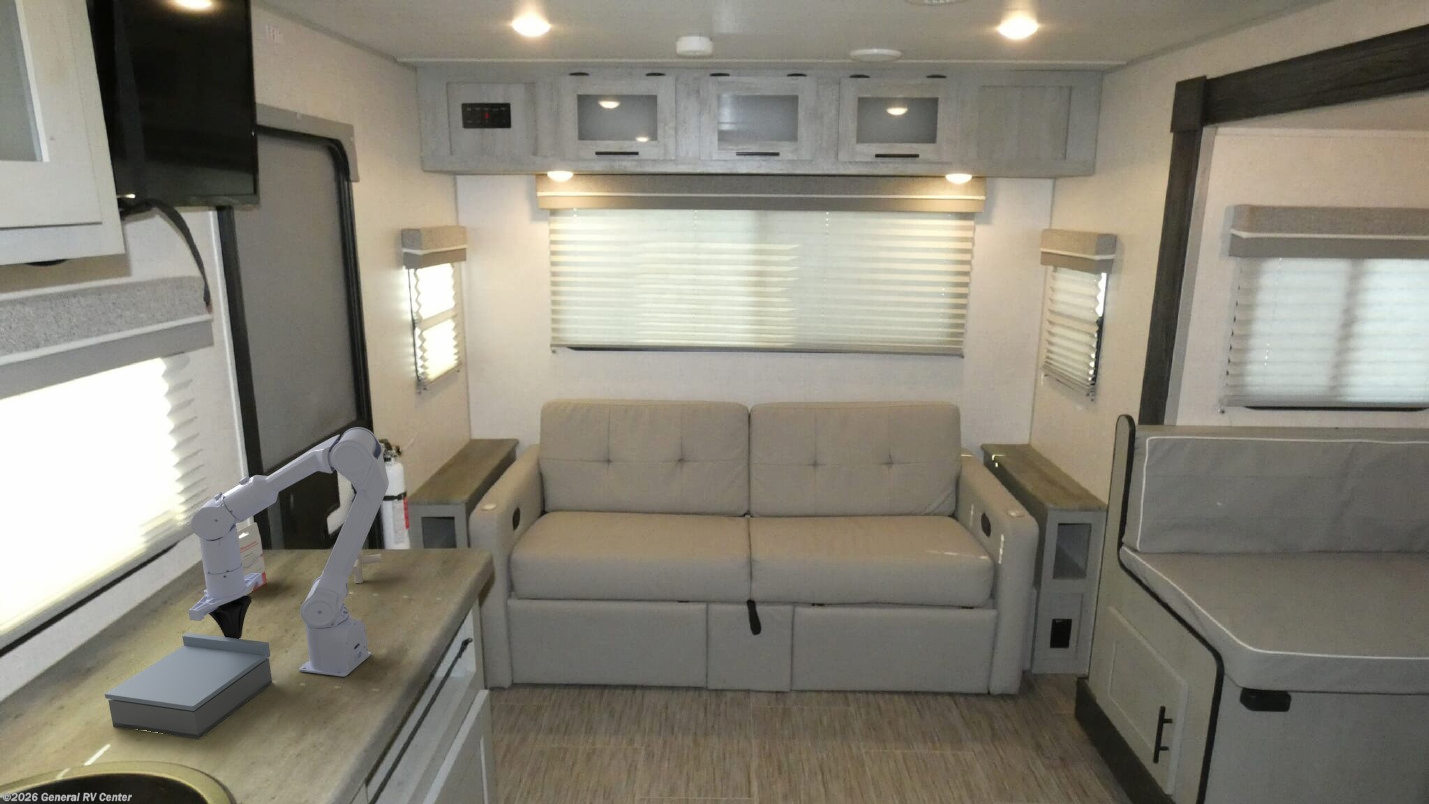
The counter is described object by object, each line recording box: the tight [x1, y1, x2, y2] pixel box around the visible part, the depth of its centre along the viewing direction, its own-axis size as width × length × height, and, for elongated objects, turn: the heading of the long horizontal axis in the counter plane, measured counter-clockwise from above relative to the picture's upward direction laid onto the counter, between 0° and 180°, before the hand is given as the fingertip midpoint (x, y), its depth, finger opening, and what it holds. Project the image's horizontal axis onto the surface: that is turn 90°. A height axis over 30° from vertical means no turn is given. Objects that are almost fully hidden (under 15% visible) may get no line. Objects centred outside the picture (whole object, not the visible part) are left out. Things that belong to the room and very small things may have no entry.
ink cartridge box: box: [237, 522, 268, 596], centre depth 175 cm, size 9×5×15 cm, turn 168°
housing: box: [107, 657, 273, 740], centre depth 135 cm, size 16×16×5 cm
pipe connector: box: [350, 548, 382, 584], centre depth 180 cm, size 10×10×10 cm
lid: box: [104, 632, 271, 711], centre depth 134 cm, size 16×16×3 cm
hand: (233, 638), depth 143 cm, fingers closed
